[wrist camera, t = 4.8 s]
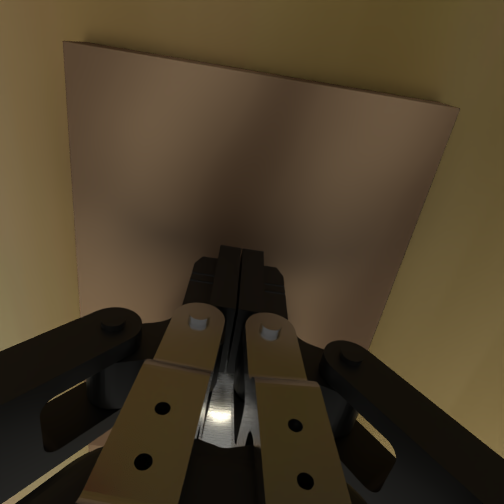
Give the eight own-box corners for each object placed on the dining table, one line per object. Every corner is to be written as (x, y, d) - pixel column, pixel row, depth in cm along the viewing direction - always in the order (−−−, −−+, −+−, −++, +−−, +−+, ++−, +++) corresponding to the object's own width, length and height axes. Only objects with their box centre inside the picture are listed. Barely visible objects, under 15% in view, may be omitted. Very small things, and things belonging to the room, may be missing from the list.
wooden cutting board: (440, 102, 13) (460, 108, 12) (310, 466, 22) (313, 492, 21) (83, 41, 13) (62, 40, 11) (100, 443, 22) (90, 469, 20)
